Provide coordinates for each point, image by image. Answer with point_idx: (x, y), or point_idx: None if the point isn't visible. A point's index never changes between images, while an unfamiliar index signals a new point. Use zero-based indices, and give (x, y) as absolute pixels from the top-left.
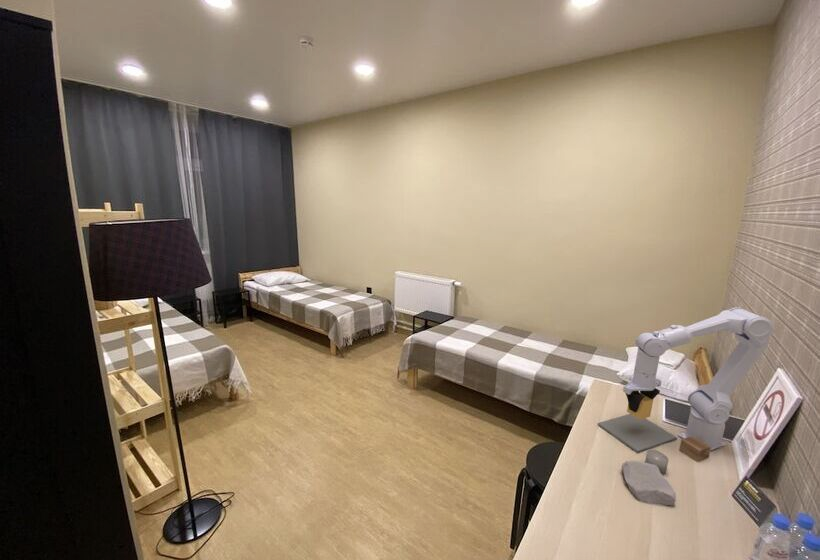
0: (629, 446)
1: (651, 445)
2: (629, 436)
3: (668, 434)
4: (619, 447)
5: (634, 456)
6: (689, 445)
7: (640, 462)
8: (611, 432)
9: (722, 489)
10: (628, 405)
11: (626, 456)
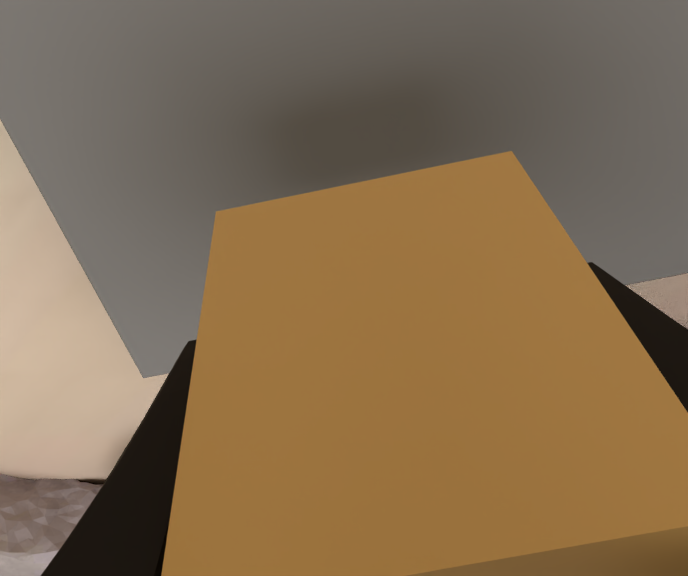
0: (113, 313)
1: None
2: (206, 208)
3: (672, 228)
4: (14, 291)
5: (99, 382)
6: None
7: (5, 566)
8: (6, 120)
9: None
10: (203, 327)
11: (23, 379)
